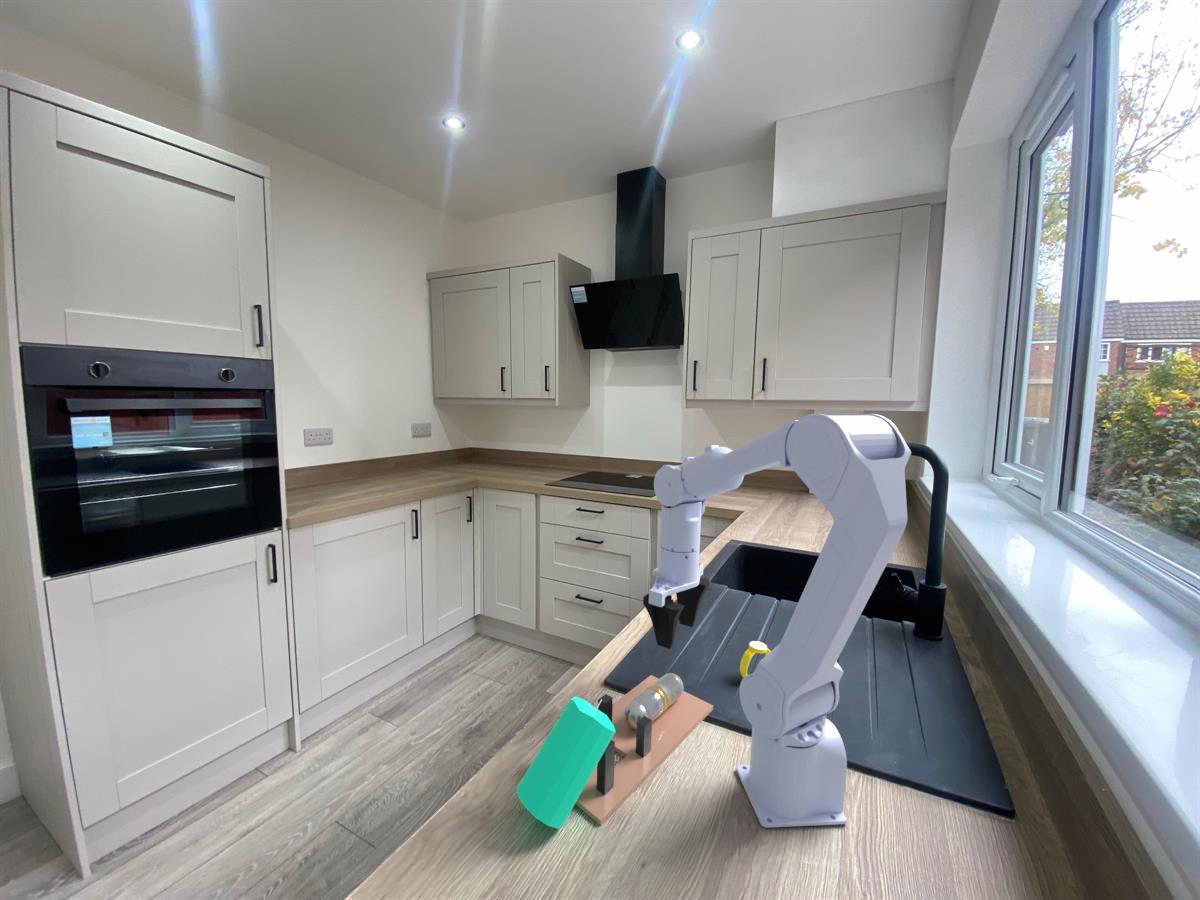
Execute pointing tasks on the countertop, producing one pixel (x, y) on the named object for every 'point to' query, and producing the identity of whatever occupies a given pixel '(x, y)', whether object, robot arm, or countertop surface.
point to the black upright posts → (607, 760)
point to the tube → (654, 699)
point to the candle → (565, 762)
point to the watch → (753, 648)
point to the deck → (633, 767)
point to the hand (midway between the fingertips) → (675, 634)
